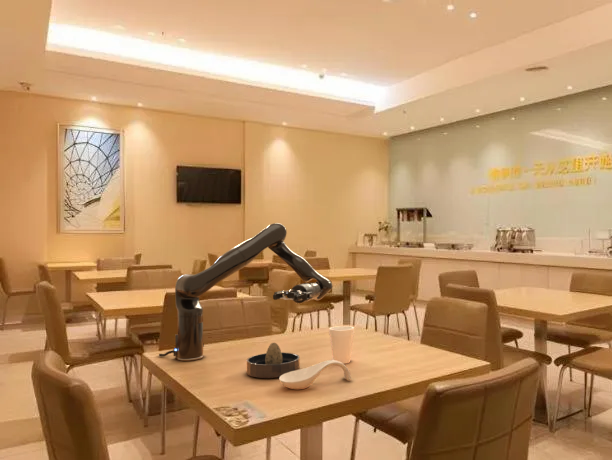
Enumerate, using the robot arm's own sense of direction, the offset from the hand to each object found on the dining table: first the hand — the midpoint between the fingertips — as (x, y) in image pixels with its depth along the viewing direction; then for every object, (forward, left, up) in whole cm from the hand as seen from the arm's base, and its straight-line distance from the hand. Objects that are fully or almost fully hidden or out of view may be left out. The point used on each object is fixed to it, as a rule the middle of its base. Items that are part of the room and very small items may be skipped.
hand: (284, 297), depth 203 cm
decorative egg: (+3, -13, -25) cm, 28 cm away
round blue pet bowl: (+3, -13, -25) cm, 28 cm away
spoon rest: (+24, -23, -25) cm, 42 cm away
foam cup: (+21, +7, -25) cm, 33 cm away
